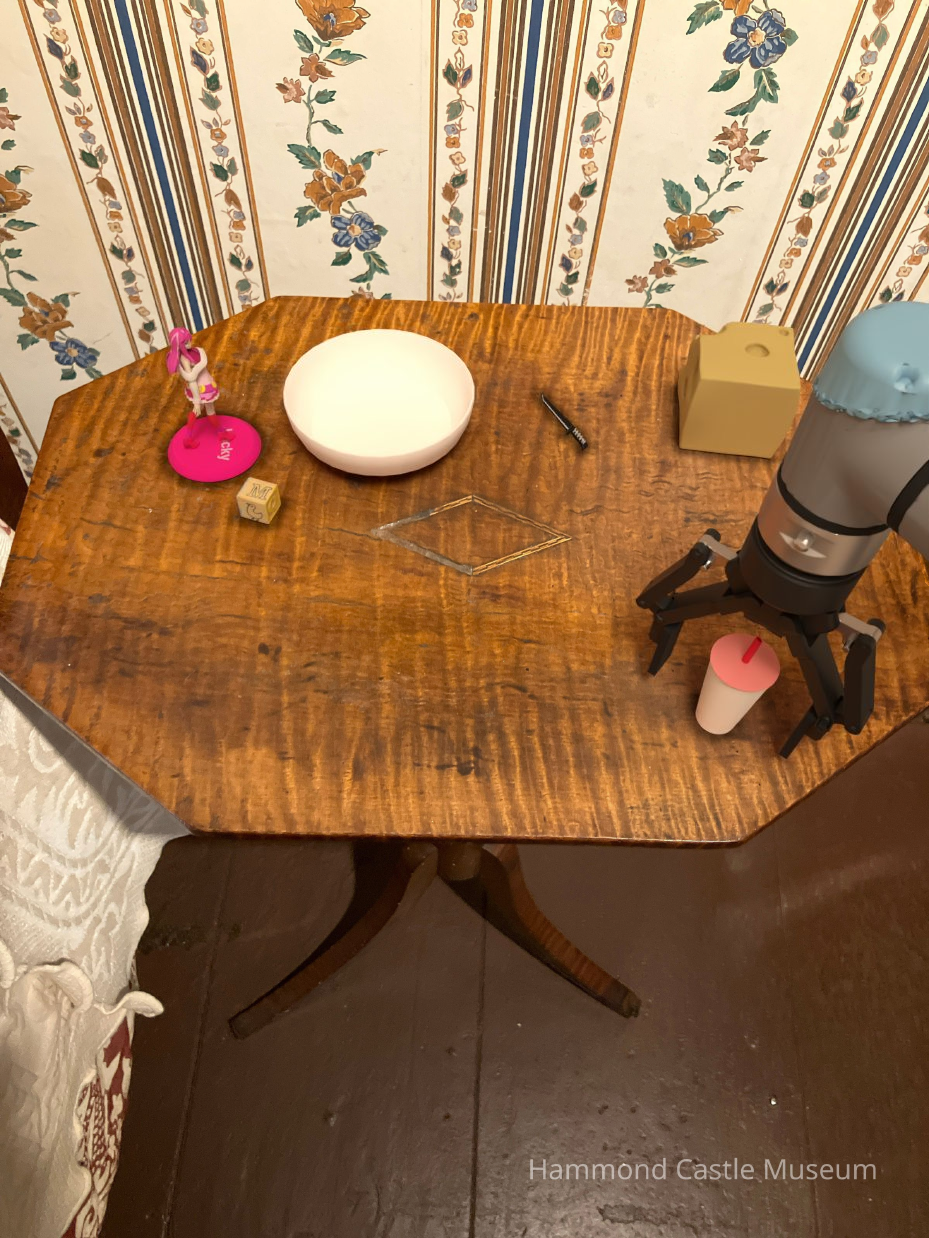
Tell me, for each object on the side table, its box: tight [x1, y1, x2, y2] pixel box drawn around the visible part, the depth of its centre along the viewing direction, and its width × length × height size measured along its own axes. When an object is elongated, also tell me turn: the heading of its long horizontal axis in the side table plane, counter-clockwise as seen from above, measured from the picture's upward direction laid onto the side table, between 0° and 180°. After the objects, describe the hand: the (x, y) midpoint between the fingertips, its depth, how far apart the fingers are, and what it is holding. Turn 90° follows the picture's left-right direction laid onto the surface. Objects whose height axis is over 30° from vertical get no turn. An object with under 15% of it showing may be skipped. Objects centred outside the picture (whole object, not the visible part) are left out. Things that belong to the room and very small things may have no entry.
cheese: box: [677, 321, 802, 459], centre depth 92 cm, size 10×11×10 cm
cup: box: [695, 632, 781, 735], centre depth 71 cm, size 5×5×12 cm
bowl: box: [282, 328, 476, 477], centre depth 92 cm, size 20×20×6 cm
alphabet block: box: [235, 476, 282, 525], centre depth 86 cm, size 3×3×3 cm
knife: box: [540, 393, 589, 450], centre depth 96 cm, size 10×2×1 cm, turn 26°
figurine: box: [165, 326, 262, 483], centre depth 86 cm, size 10×10×15 cm
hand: (722, 703), depth 74 cm, fingers open, 12 cm apart
